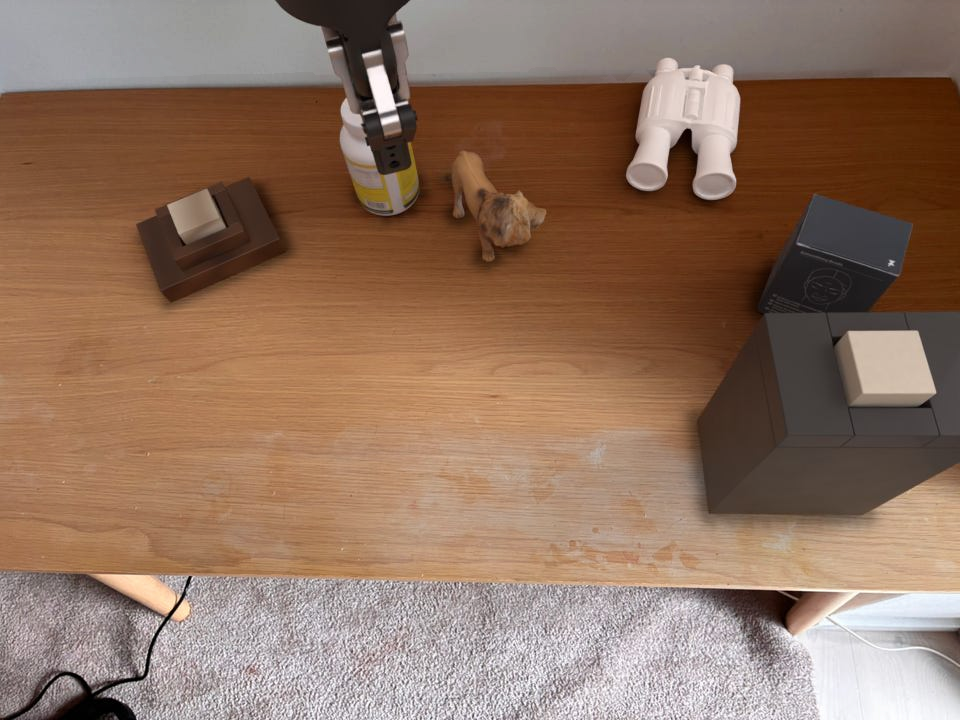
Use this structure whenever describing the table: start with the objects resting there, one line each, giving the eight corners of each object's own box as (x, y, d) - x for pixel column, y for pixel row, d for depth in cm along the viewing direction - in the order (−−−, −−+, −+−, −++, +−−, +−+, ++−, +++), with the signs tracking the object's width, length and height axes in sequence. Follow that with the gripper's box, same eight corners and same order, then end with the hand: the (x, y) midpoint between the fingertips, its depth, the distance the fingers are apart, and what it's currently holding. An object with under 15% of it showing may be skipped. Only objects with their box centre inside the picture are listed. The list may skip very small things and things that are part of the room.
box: (856, 294, 63) (916, 222, 53) (841, 344, 61) (901, 278, 51) (771, 265, 65) (814, 190, 55) (753, 312, 63) (795, 242, 53)
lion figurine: (550, 261, 66) (554, 200, 58) (505, 289, 65) (503, 231, 57) (464, 168, 72) (458, 101, 64) (422, 192, 71) (410, 127, 63)
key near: (846, 407, 40) (862, 393, 38) (832, 347, 42) (847, 330, 40) (917, 408, 40) (937, 393, 38) (900, 346, 41) (918, 329, 40)
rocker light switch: (170, 303, 66) (150, 280, 63) (146, 237, 70) (126, 212, 66) (286, 252, 68) (273, 227, 65) (256, 190, 72) (242, 164, 68)
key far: (186, 245, 65) (178, 234, 63) (174, 216, 66) (166, 204, 65) (226, 228, 65) (219, 217, 64) (214, 200, 67) (206, 188, 66)
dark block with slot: (708, 513, 55) (787, 435, 39) (696, 420, 58) (764, 312, 42) (863, 515, 54) (1009, 436, 38) (841, 420, 58) (967, 311, 41)
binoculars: (622, 191, 70) (629, 158, 65) (642, 79, 76) (649, 43, 72) (728, 206, 68) (742, 173, 64) (738, 91, 75) (751, 55, 71)
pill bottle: (419, 167, 72) (403, 77, 62) (421, 216, 69) (404, 130, 59) (358, 172, 72) (331, 84, 62) (357, 221, 70) (329, 137, 59)
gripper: (217, -188, 31) (317, 107, 47) (258, -8, 25) (357, 261, 41) (377, -222, 32) (424, 81, 47) (454, -54, 26) (478, 228, 41)
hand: (393, 164), depth 44 cm, fingers closed
